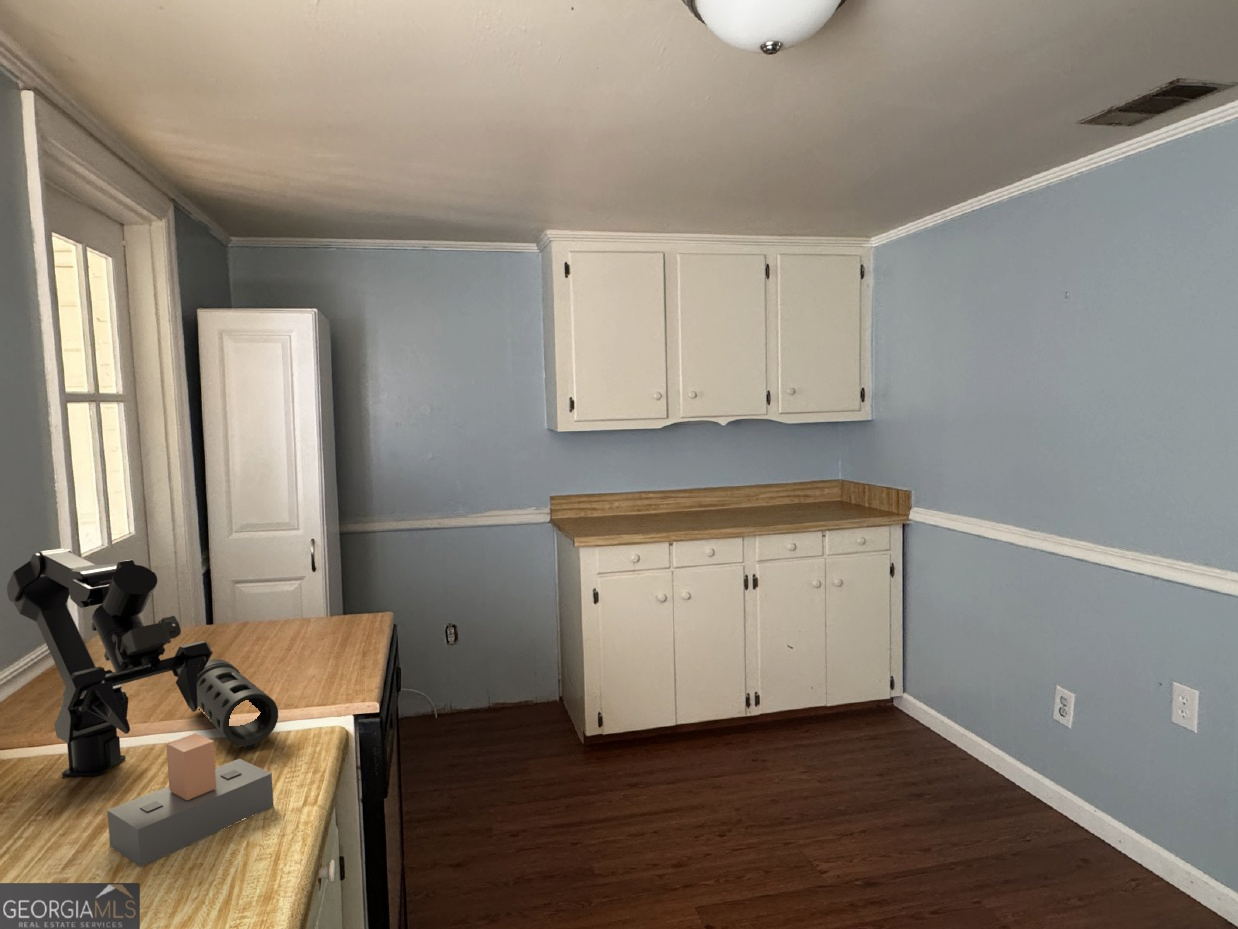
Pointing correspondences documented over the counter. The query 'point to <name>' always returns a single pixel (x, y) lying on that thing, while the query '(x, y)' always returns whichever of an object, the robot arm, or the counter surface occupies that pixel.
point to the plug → (191, 766)
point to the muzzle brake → (234, 703)
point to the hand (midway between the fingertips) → (162, 720)
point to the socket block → (188, 813)
